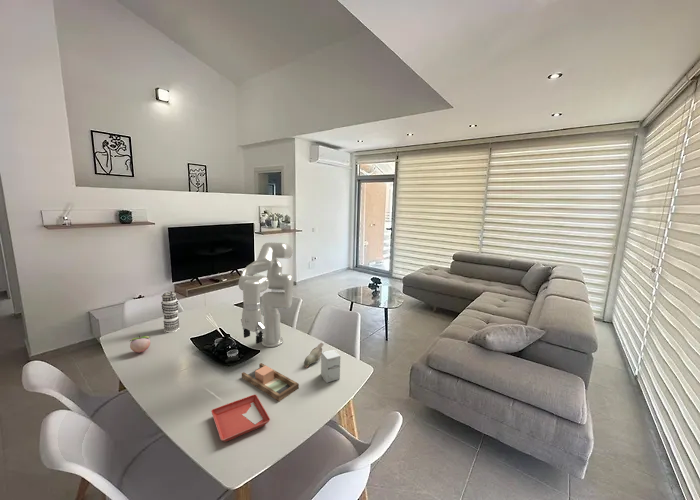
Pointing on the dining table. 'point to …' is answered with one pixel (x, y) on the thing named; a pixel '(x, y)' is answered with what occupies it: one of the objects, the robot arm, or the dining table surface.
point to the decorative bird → (313, 355)
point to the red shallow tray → (237, 418)
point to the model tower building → (170, 312)
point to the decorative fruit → (140, 344)
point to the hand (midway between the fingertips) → (253, 339)
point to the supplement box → (330, 365)
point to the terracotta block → (264, 375)
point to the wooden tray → (273, 384)
